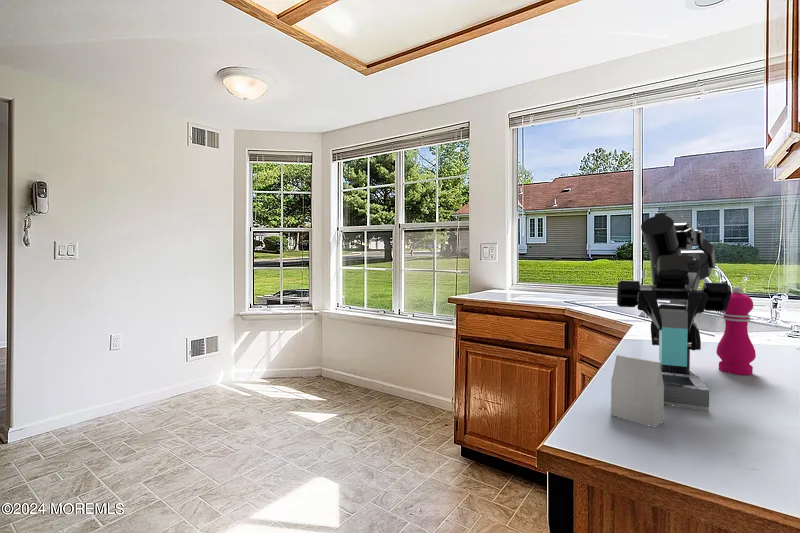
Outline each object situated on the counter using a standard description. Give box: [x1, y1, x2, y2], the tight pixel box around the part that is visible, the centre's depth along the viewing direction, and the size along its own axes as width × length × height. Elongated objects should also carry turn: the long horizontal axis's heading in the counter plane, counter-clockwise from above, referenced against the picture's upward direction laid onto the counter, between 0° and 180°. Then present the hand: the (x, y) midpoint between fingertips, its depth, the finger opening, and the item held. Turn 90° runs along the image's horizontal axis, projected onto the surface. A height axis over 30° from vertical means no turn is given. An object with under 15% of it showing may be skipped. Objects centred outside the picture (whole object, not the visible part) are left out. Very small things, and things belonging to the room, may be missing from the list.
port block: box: [662, 372, 710, 412], centre depth 81 cm, size 10×10×4 cm
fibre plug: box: [658, 309, 688, 367], centre depth 80 cm, size 4×4×10 cm
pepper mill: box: [716, 285, 757, 376], centre depth 99 cm, size 7×7×20 cm
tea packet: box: [610, 354, 665, 428], centre depth 71 cm, size 4×7×10 cm, turn 40°
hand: (674, 329), depth 79 cm, fingers closed on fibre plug, 4 cm apart
